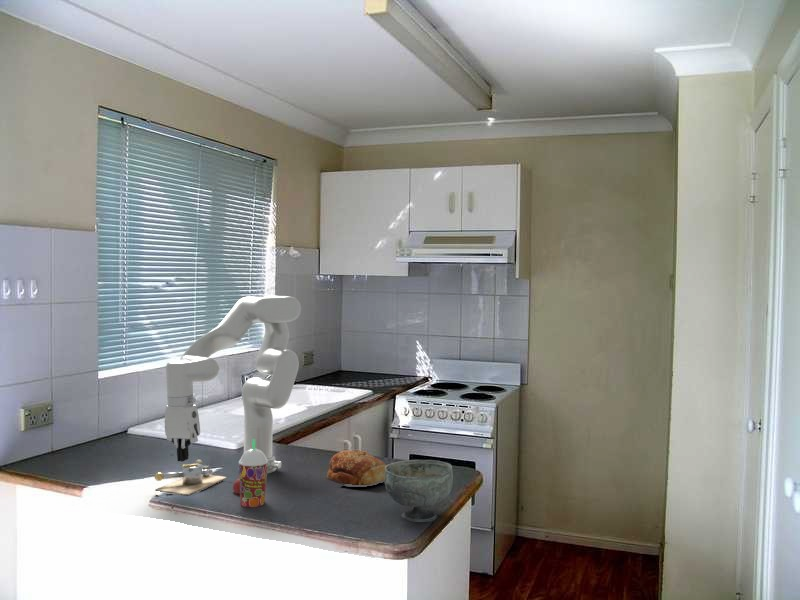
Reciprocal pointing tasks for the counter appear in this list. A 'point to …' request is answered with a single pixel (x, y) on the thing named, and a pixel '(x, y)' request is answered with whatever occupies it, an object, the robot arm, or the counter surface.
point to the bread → (356, 468)
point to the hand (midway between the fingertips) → (183, 460)
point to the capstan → (187, 474)
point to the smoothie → (253, 477)
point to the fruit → (236, 486)
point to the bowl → (419, 486)
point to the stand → (185, 489)
